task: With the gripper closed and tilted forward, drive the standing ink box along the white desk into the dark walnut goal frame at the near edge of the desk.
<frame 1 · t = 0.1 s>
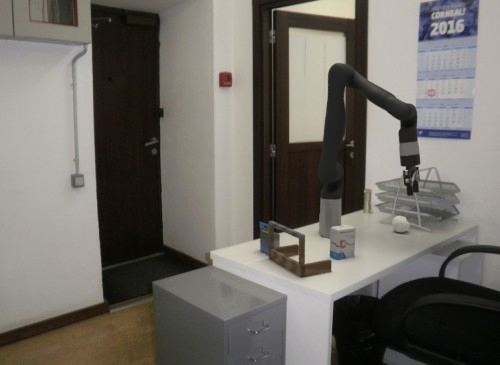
hand: (413, 194, 183), 22 cm above the table, tool pointing down, fingers open, 8 cm apart
ink box: (342, 257, 177), on the table
goal frame: (300, 264, 169), on the table
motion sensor: (400, 232, 211), on the table
label tape cartridge: (269, 253, 184), on the table
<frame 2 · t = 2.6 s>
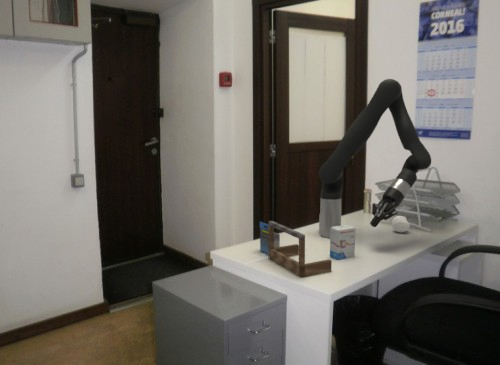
hand: (372, 225, 182), 10 cm above the table, tool tilted 45°, fingers closed
nothing on the table moved.
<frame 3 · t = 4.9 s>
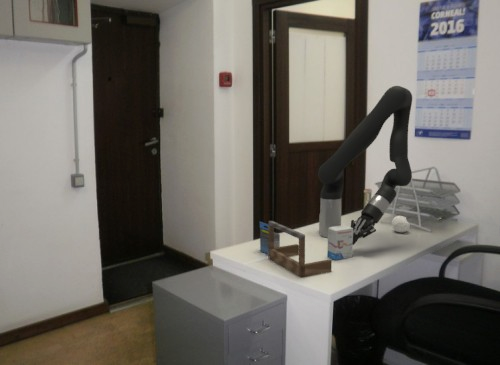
hand: (350, 243, 178), 5 cm above the table, tool tilted 45°, fingers closed
ink box: (339, 257, 177), on the table, touching gripper
everything else where it was.
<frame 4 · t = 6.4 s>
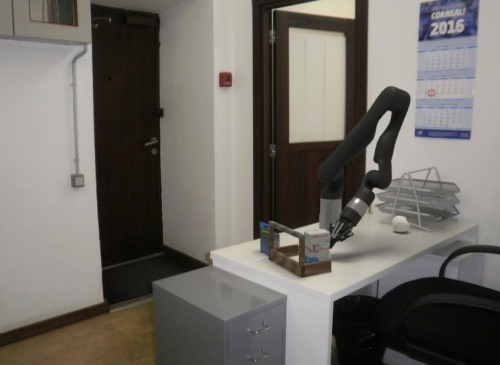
hand: (327, 247, 173), 5 cm above the table, tool tilted 45°, fingers closed
ink box: (316, 262, 172), on the table, touching gripper
everything else where it was.
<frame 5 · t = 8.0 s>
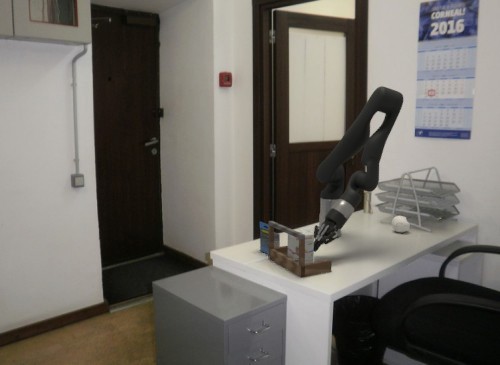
hand: (312, 250, 170), 5 cm above the table, tool tilted 45°, fingers closed
ink box: (300, 264, 169), on the table, touching gripper
everything else where it was.
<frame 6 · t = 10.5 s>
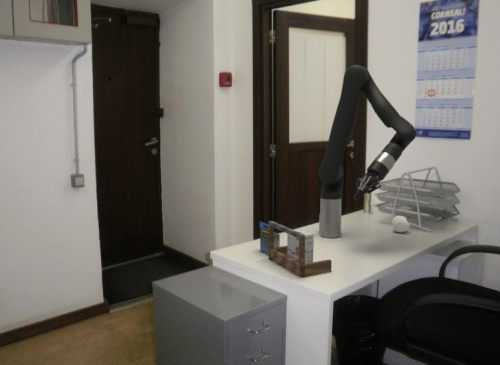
hand: (355, 199, 179), 21 cm above the table, tool tilted 45°, fingers closed
ink box: (300, 264, 169), on the table
everything else where it was.
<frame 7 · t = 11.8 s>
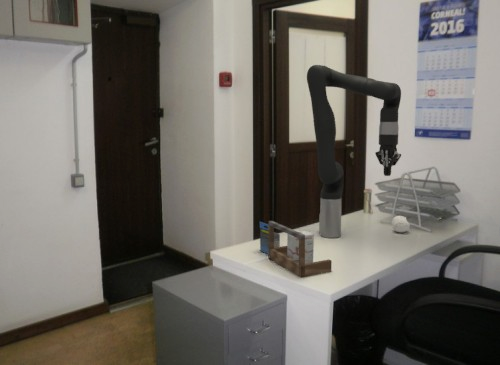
hand: (387, 175, 188), 29 cm above the table, tool pointing down, fingers closed
nothing on the table moved.
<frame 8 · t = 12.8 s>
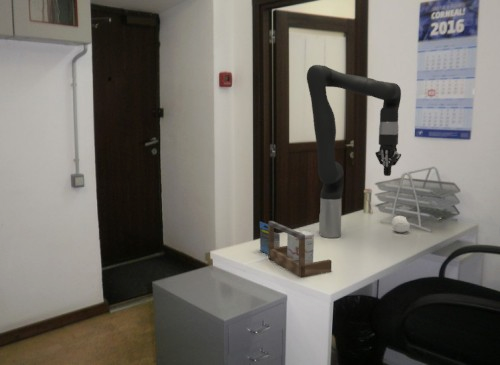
hand: (387, 175, 188), 29 cm above the table, tool pointing down, fingers closed
nothing on the table moved.
at the end: ink box inside the target area on the goal frame (2.0 cm from its centre), point 0.0 cm above the goal frame's base; ink box tilted 0°; the gripper is holding nothing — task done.
